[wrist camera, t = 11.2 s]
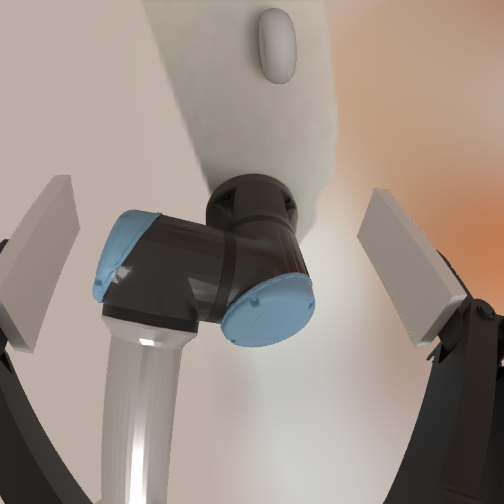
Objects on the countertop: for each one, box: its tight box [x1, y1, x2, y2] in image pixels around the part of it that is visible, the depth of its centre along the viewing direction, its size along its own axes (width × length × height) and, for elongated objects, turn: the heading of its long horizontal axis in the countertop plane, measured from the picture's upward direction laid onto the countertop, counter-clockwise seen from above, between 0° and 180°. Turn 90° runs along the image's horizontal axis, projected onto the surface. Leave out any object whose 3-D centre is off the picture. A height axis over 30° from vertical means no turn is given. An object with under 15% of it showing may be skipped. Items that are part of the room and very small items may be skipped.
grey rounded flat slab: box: [259, 8, 297, 84], centre depth 32 cm, size 10×4×10 cm, turn 4°
